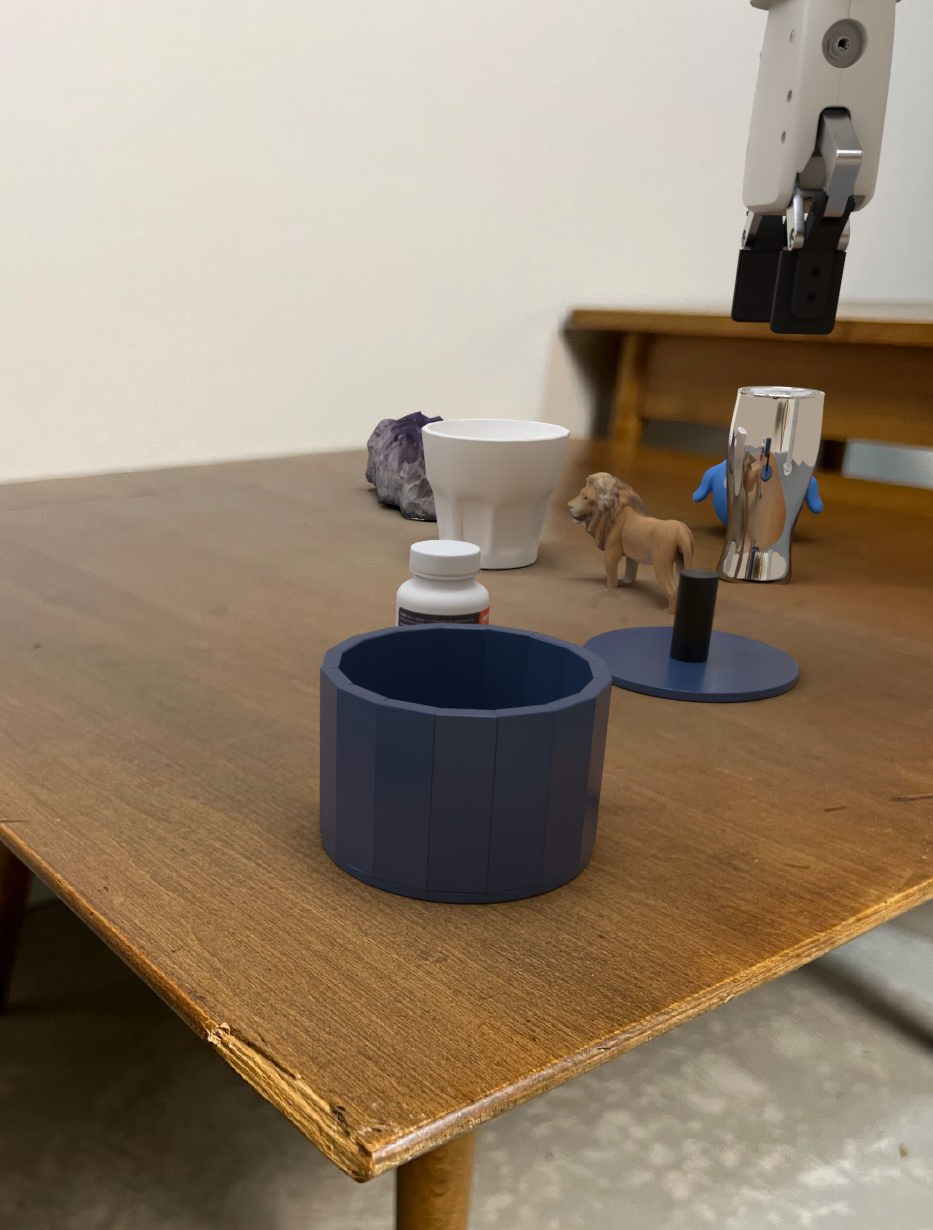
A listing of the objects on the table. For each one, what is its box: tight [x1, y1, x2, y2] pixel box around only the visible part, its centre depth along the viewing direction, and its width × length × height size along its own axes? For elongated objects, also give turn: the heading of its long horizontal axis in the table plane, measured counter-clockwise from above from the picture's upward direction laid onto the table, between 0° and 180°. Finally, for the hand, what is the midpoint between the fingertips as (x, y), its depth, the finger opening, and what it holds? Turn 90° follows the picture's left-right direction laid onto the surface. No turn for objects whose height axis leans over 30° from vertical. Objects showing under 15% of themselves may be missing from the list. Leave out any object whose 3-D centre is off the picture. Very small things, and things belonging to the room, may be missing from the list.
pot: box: [319, 623, 613, 904], centre depth 55 cm, size 13×13×8 cm
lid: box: [582, 568, 800, 703], centre depth 77 cm, size 14×14×7 cm
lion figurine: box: [567, 472, 695, 615], centre depth 93 cm, size 15×5×9 cm, turn 33°
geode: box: [364, 410, 445, 521], centre depth 127 cm, size 20×12×10 cm, turn 7°
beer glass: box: [715, 385, 826, 586], centre depth 99 cm, size 7×7×15 cm
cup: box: [422, 418, 571, 570], centre depth 105 cm, size 12×12×11 cm
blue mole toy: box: [692, 459, 824, 527], centre depth 114 cm, size 12×12×8 cm
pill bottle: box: [394, 539, 491, 627], centre depth 71 cm, size 5×5×10 cm
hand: (777, 327), depth 68 cm, fingers open, 9 cm apart
